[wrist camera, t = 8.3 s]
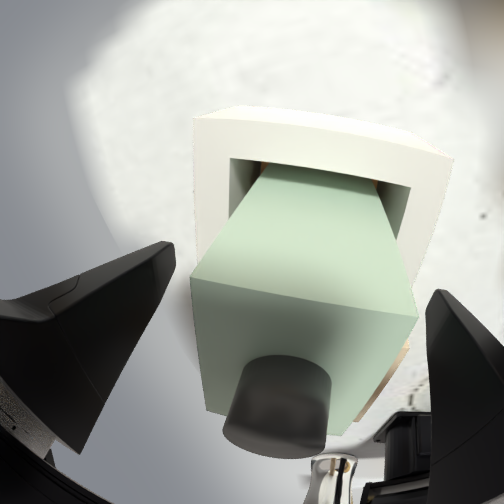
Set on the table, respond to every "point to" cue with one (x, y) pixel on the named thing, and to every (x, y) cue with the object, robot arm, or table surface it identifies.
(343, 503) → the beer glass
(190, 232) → the table surface
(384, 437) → the robot arm
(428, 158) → the socket
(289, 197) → the plug
